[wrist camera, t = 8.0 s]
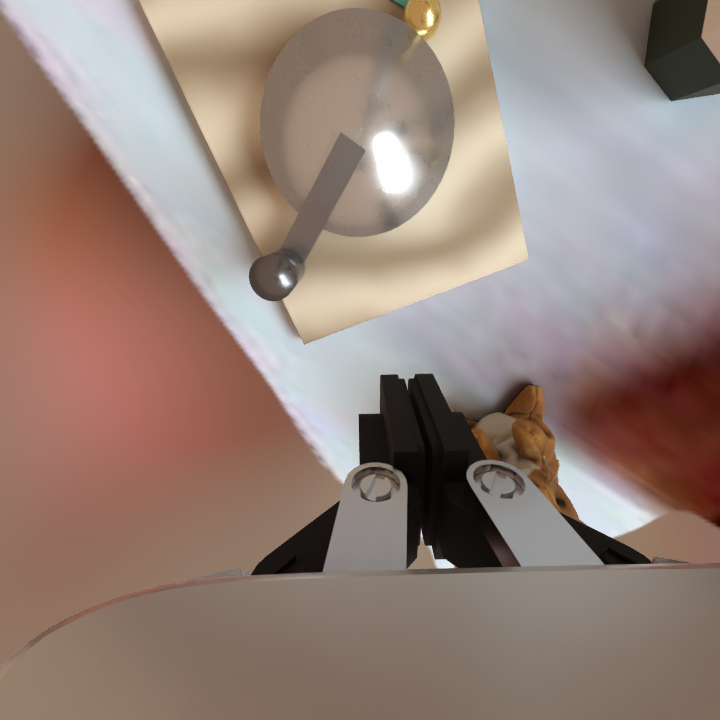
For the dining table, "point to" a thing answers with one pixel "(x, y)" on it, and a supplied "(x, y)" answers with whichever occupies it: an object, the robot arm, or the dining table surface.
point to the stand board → (276, 216)
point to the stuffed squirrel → (525, 444)
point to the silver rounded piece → (353, 130)
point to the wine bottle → (685, 47)
